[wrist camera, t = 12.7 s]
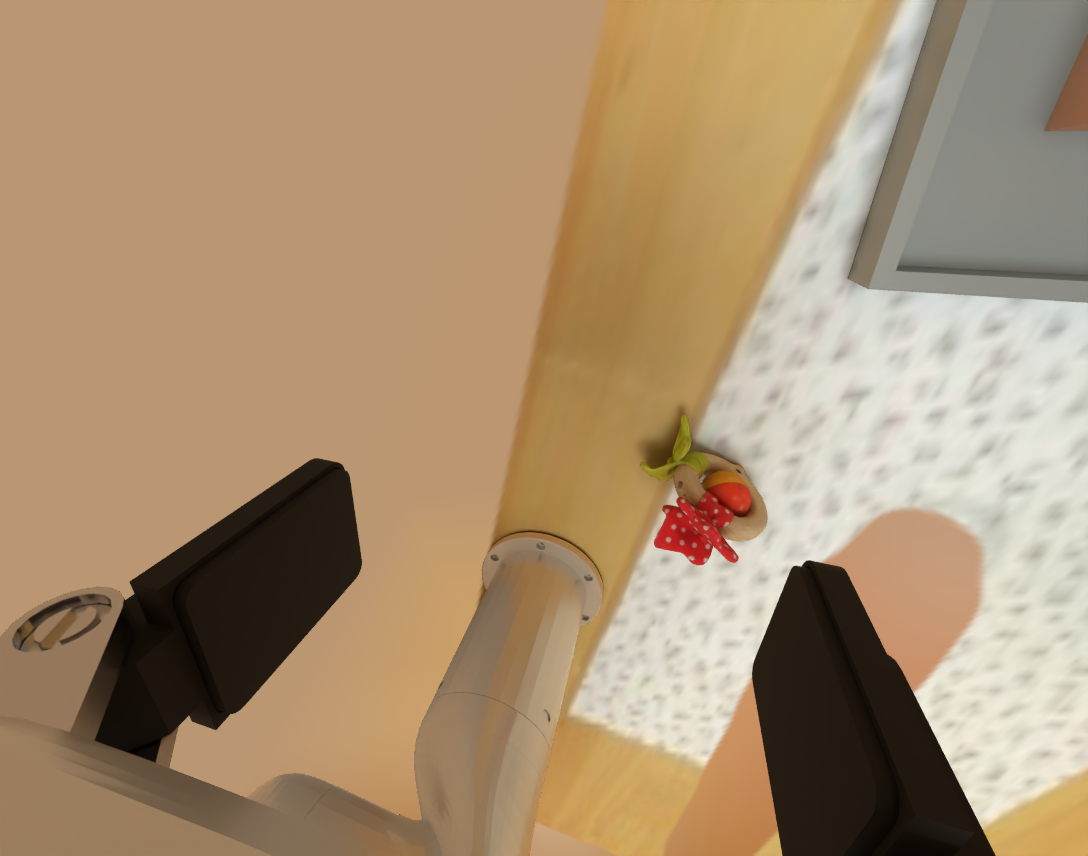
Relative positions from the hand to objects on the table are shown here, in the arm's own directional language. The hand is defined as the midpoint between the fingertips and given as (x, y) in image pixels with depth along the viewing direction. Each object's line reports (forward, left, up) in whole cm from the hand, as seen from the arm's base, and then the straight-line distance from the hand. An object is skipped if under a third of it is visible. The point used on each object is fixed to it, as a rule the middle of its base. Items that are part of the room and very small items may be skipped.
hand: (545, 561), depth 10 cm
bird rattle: (-12, -7, -26) cm, 30 cm away
